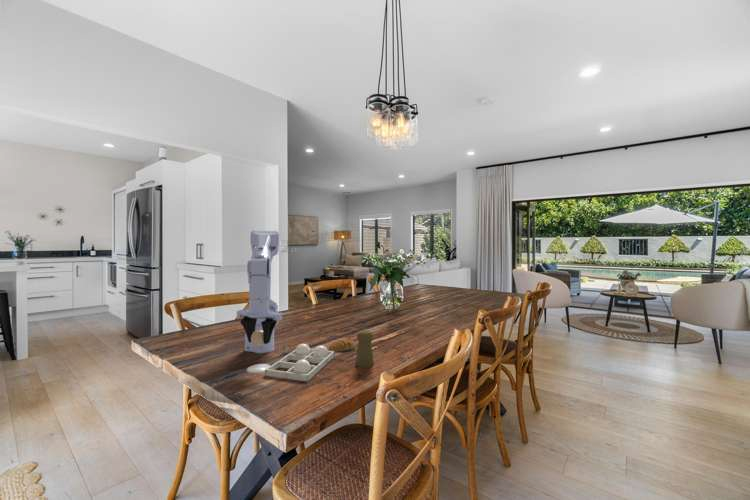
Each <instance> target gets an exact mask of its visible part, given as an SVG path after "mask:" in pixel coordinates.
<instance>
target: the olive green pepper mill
mask: <svg viewBox="0 0 750 500" xmlns="http://www.w3.org/2000/svg"><path fill="white" fill-rule="evenodd" d="M373 338H374V335H373V332H372V331H370V330H365V329H364V330H359V331H358V332H357V334H356V339H357V341H358V344H357V350H356V359H355V365H356V366H357V367H360V368H370V367H373V366H374V364H375V362H374V354H373V347H372V346H373V344H372V341H373Z"/></svg>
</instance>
